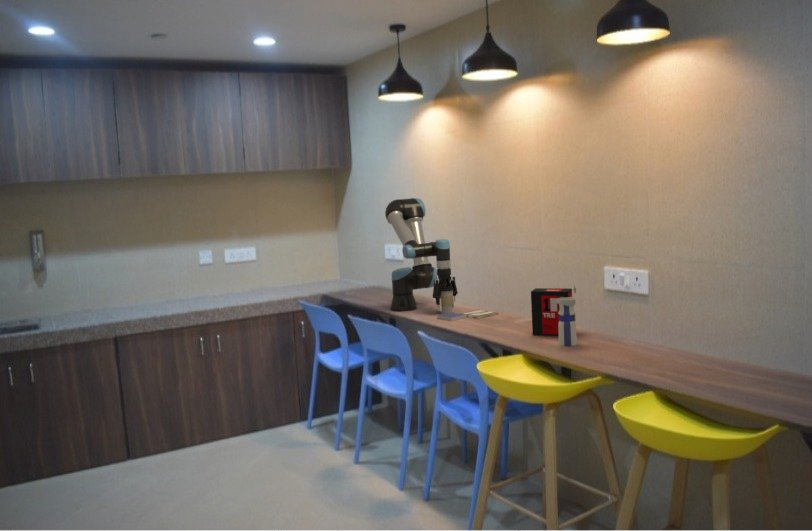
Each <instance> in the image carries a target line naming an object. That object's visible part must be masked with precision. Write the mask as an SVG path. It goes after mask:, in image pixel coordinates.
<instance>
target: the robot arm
mask: <svg viewBox="0 0 812 531" xmlns="http://www.w3.org/2000/svg"><path fill="white" fill-rule="evenodd" d="M384 216H385V219H386V221H387V223H388V224H390V225H391V226H392V228H393V230H394V231H395V233H396V236H397V238H398V239H399V242H400V243H401V245H402V246H403V247H402V250H401V251H402V254H403V257H404V258H405V259H407V260H408V259H411V260H413V265H412V267H408V266H407V267H401V268H397V269H394V270H393V271H392V272H391V285H392V286H391V287H392V289H391V290H392V299H391V303H390V311H393V312H394V311H395V312H407V311H413V310H417V308H418V304H417V302H416V299H415V296H414V294H413V293H414V290H421V289H422V290H423V289H429V288H433V290H432V298H433V299H435V304H436V309H437V312H439V311H440V312H441V311H442V307H441V299H440V296H441V291H440V290H441V288H439V287H444V285H446V286H452V288H453V289H454V290H453V305H452V309H455V306H456V305H455V303H456V296H457V295H458V294H459V292H458V288H457V284H456V277H455V276H451V275H452V269H451V249H450V248H451V246H450V240H449V239H448V238H447V239H444V238H442V239H435V241H430V242H426V240H425V234H424V230H423V224H422V223H423V221H424V217H425V216H426V205H425V203H424V201H423V200H422V199H421V198H415V197H414V198H413V197H411V198H404V199H403V198H402V199H400V198H399V199H394V200H392V201H390V202H389V203H388V204H387V206H386V208H385V211H384ZM428 257H436V258H435V259H436V267H435V266H433V264H432V263H431V262H430V261H429V258H428Z"/></svg>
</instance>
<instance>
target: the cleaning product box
mask: <svg viewBox="0 0 812 531" xmlns="http://www.w3.org/2000/svg"><path fill="white" fill-rule="evenodd" d="M563 297H572V298H573V288H564V287H563V288H559V287H558V288H556V287H555V288H548V287H547V288H539V287H538V288H534V289H533V290H530V304H531V325H532V336H545V337H547V336H548V337H559V328H558V325H559V314H558V312H559V310H560V307H559V304H558V303H557V299H558V298H563Z"/></svg>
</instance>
